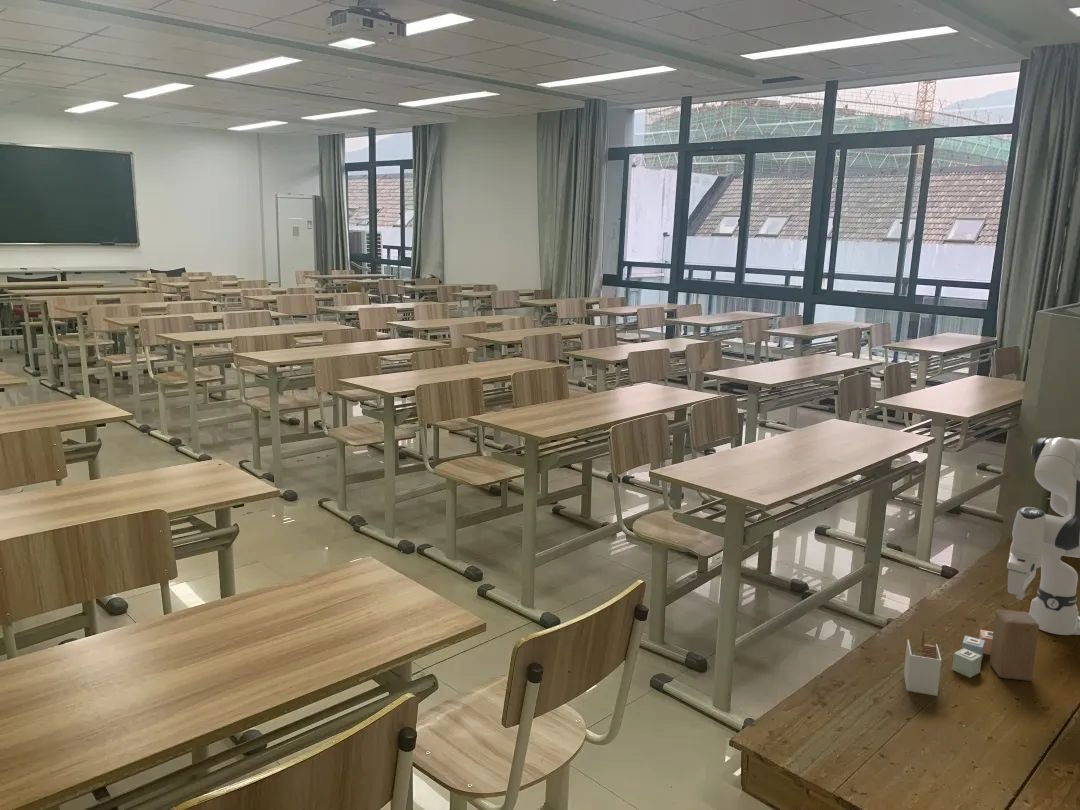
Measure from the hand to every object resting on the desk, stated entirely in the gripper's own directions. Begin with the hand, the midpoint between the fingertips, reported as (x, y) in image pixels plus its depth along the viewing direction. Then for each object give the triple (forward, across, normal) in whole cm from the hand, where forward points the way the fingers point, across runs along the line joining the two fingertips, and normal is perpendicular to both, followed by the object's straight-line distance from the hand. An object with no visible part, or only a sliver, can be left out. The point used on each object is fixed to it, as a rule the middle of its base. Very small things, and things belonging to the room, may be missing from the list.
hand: (1019, 598), depth 253 cm
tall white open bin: (+27, +28, -19) cm, 43 cm away
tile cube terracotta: (+27, -10, -9) cm, 30 cm away
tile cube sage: (+26, +10, -11) cm, 30 cm away
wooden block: (+26, +1, 0) cm, 27 cm away
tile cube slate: (+26, -1, -12) cm, 29 cm away
